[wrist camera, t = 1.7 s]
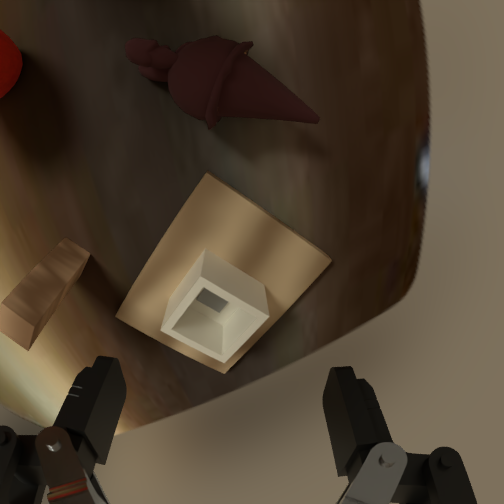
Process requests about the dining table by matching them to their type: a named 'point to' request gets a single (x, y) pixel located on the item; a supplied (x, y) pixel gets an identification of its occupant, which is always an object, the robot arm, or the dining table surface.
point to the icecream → (218, 80)
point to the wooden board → (229, 249)
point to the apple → (8, 63)
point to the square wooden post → (41, 293)
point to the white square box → (215, 307)
